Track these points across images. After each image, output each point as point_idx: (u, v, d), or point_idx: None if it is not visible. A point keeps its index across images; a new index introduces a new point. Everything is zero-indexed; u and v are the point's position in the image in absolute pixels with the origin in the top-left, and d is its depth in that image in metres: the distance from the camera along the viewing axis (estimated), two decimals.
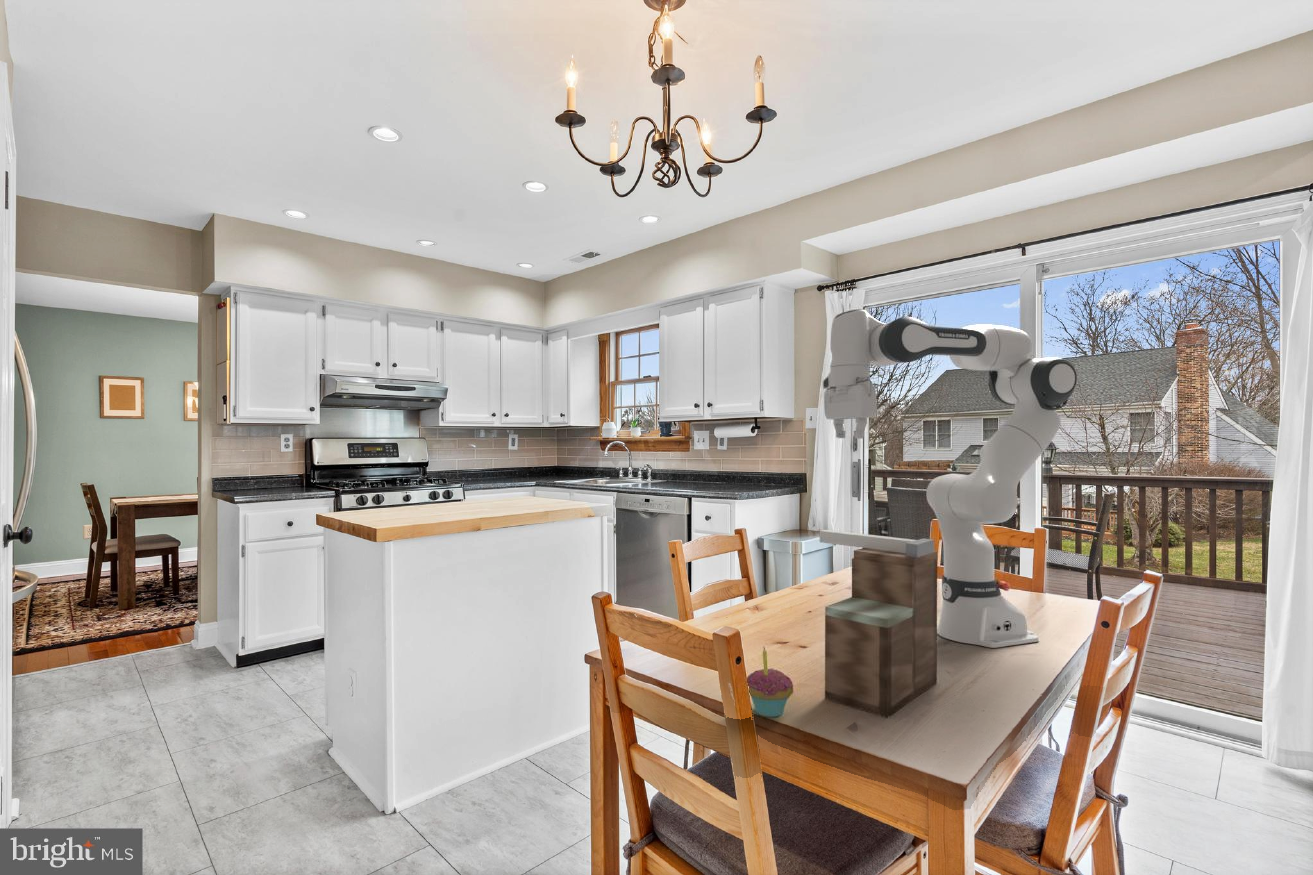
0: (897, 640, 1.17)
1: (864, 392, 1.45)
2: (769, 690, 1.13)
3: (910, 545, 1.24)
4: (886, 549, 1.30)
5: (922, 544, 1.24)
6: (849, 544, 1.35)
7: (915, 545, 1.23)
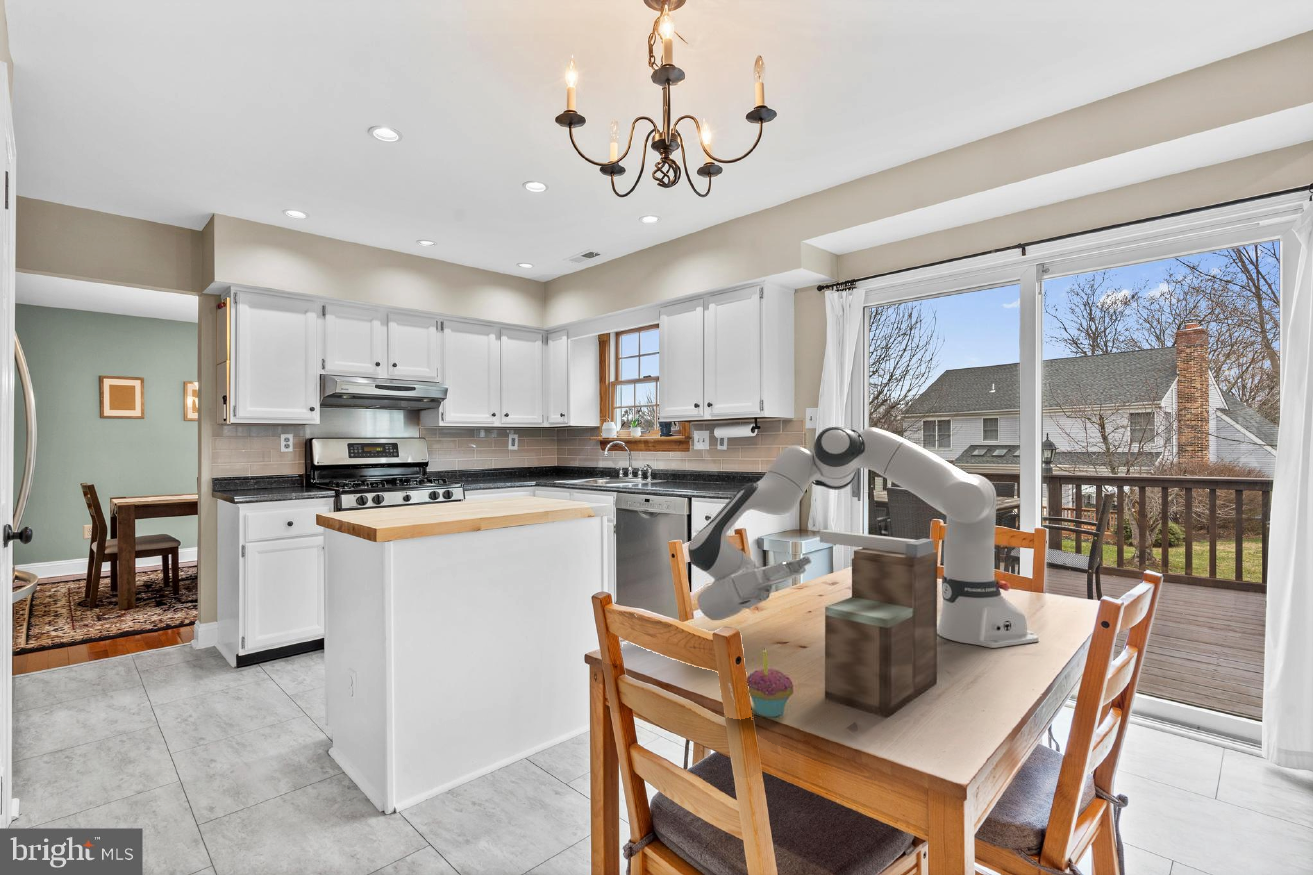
0: (897, 640, 1.17)
1: None
2: (769, 690, 1.13)
3: (910, 545, 1.24)
4: (886, 549, 1.30)
5: (922, 544, 1.24)
6: (849, 544, 1.35)
7: (915, 545, 1.23)
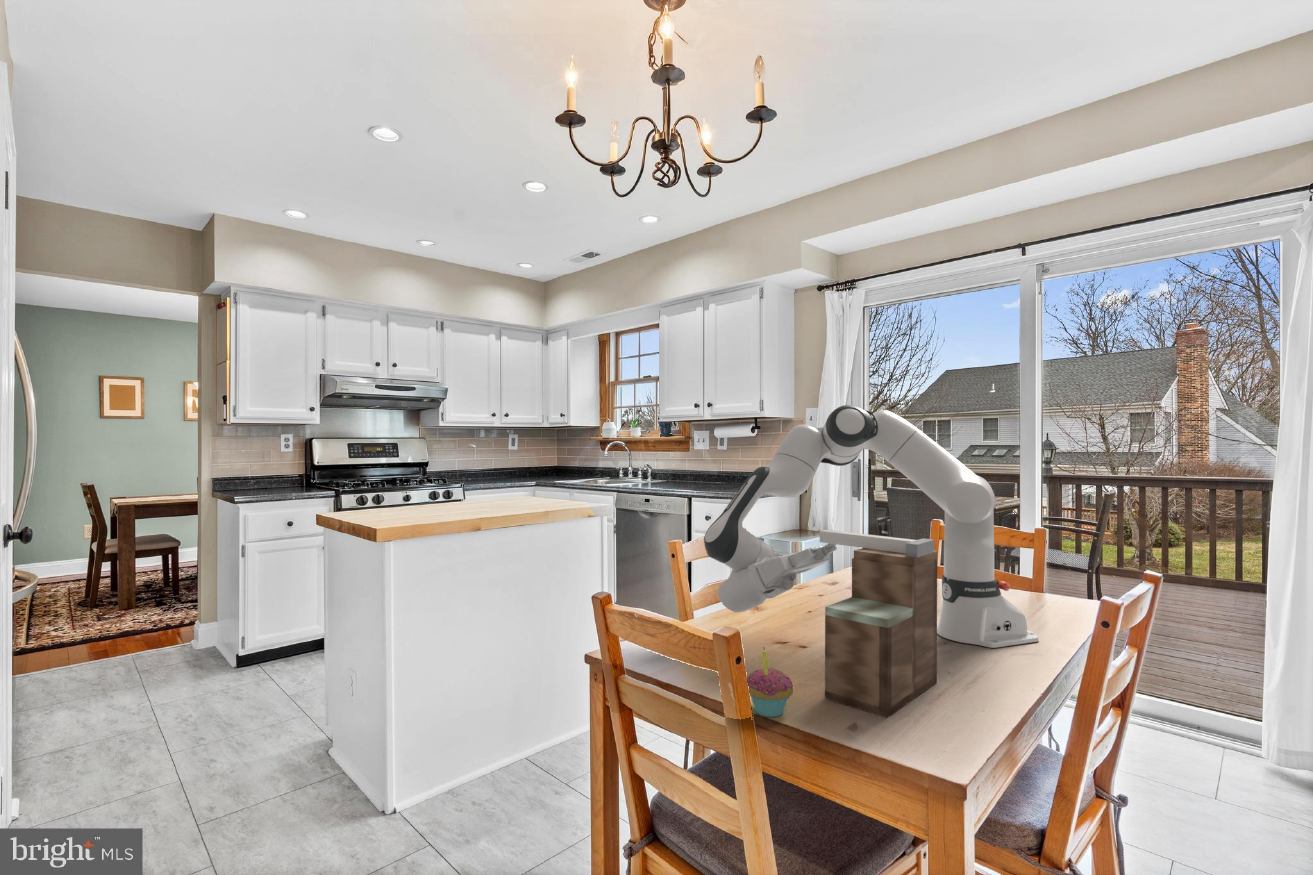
0: (897, 640, 1.17)
1: None
2: (769, 690, 1.13)
3: (910, 545, 1.24)
4: (886, 549, 1.30)
5: (922, 544, 1.24)
6: (849, 544, 1.35)
7: (915, 545, 1.23)
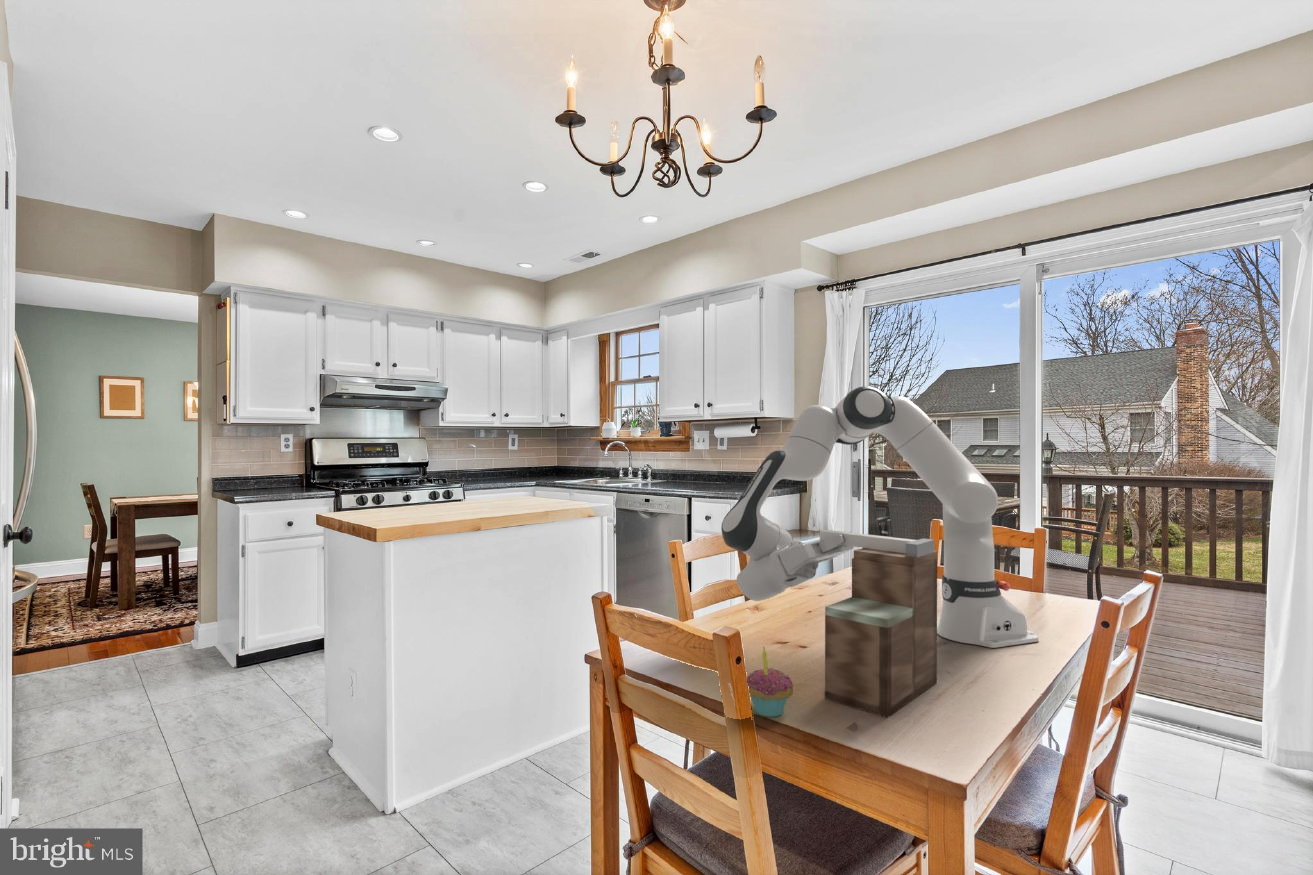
0: (897, 640, 1.17)
1: None
2: (769, 690, 1.13)
3: (910, 545, 1.24)
4: (886, 549, 1.30)
5: (922, 544, 1.24)
6: (849, 544, 1.35)
7: (915, 545, 1.23)
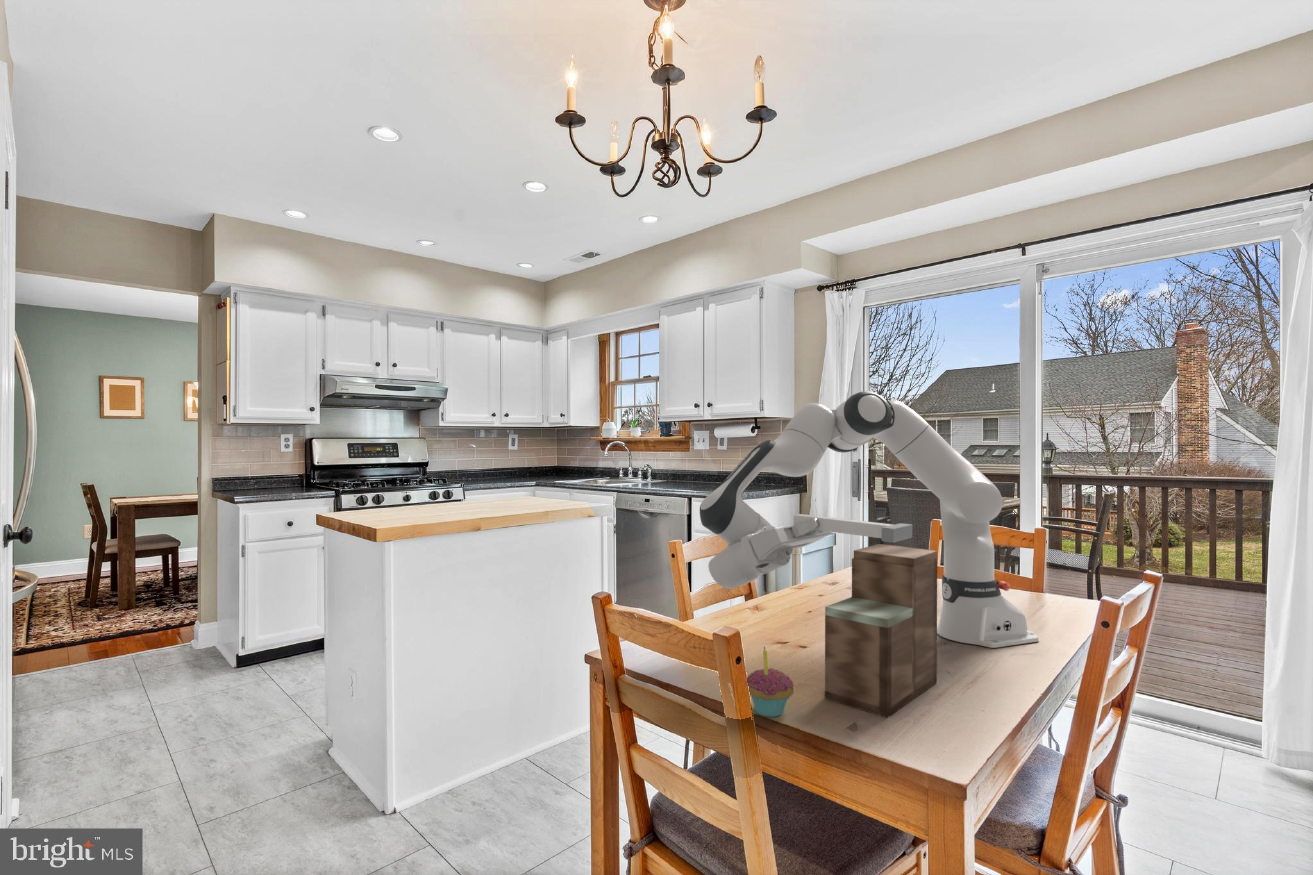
0: (897, 640, 1.17)
1: None
2: (769, 690, 1.13)
3: (886, 529, 1.17)
4: (862, 534, 1.23)
5: (899, 529, 1.17)
6: (824, 529, 1.28)
7: (891, 529, 1.16)
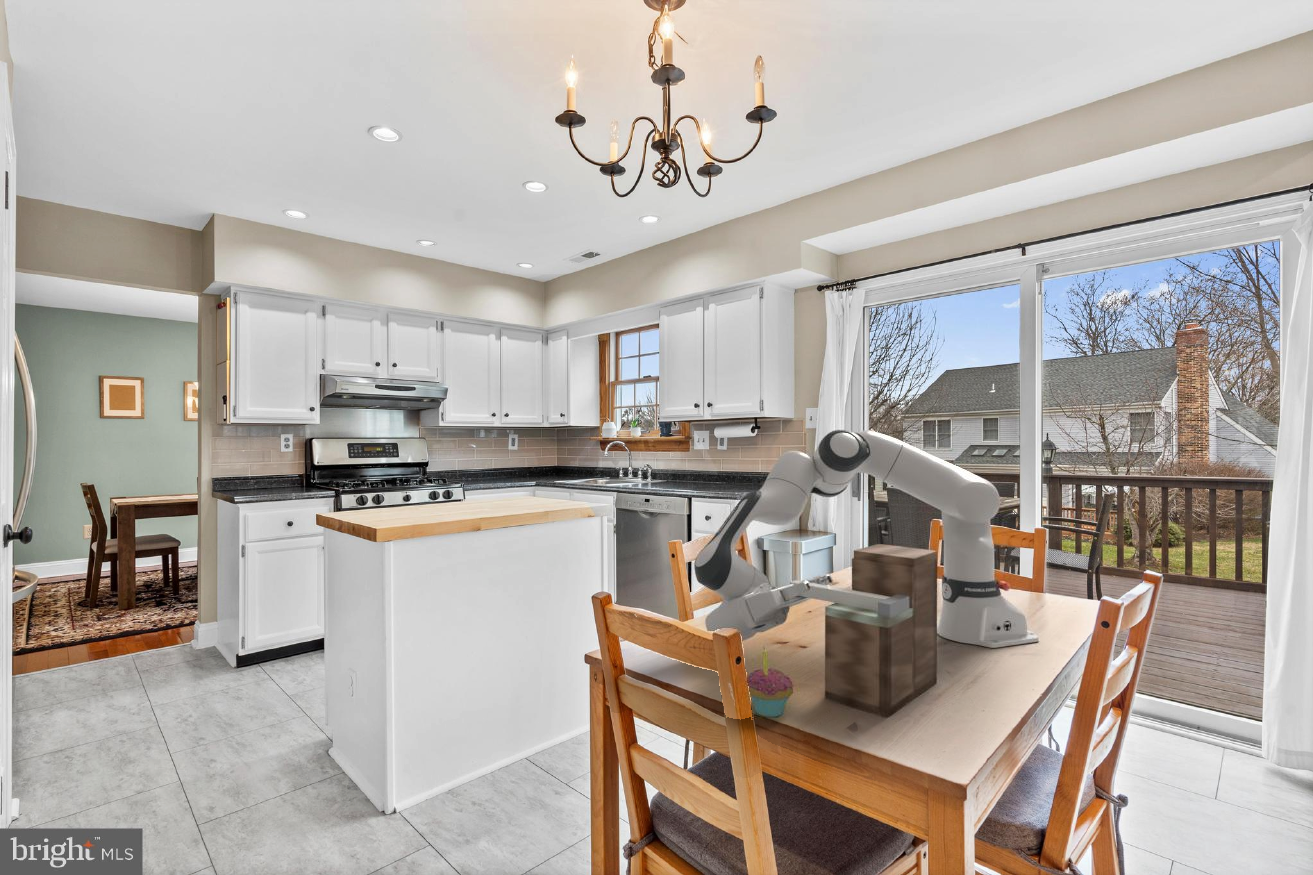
0: (897, 640, 1.17)
1: None
2: (769, 690, 1.13)
3: (882, 604, 1.15)
4: (858, 606, 1.22)
5: (895, 603, 1.16)
6: (820, 598, 1.27)
7: (887, 605, 1.15)
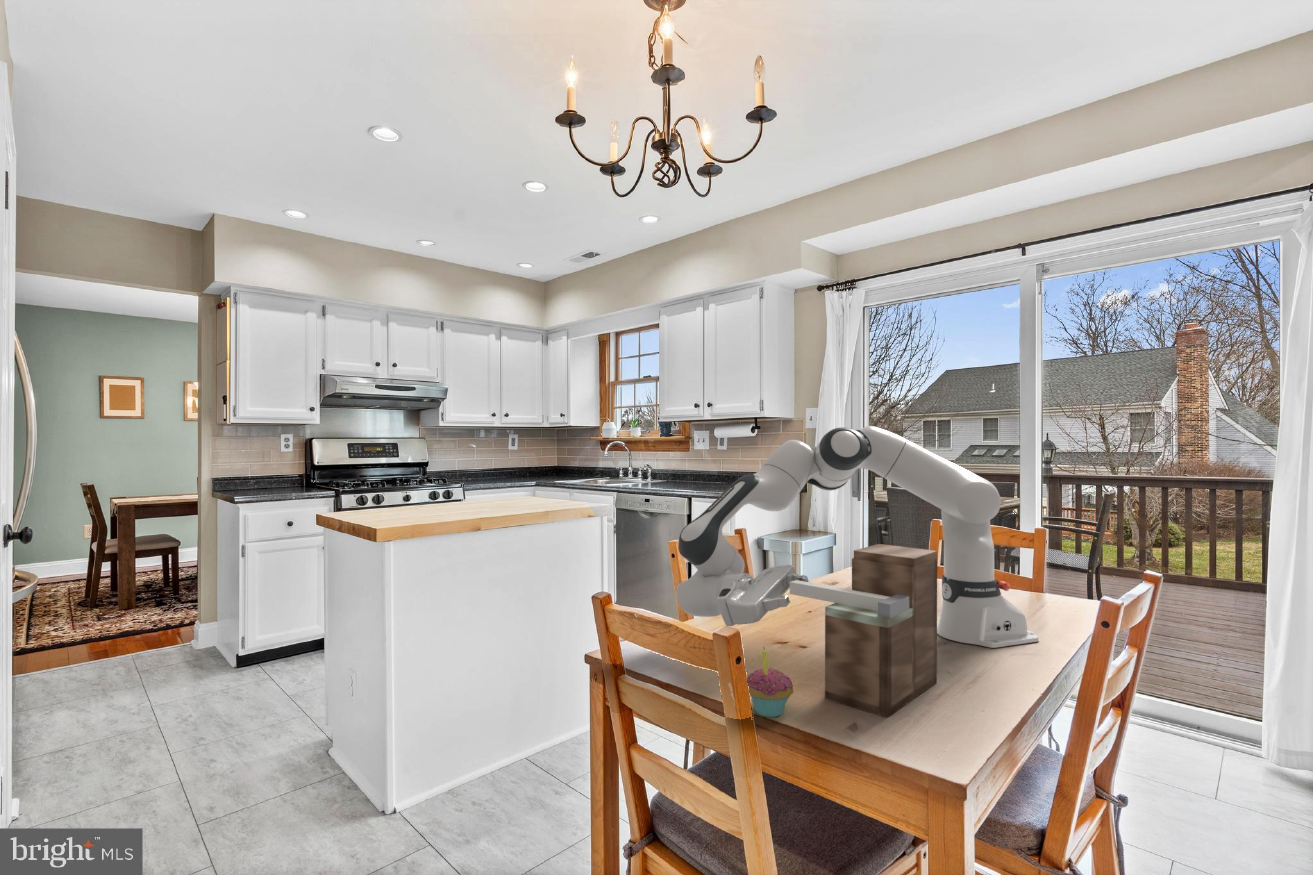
0: (897, 640, 1.17)
1: None
2: (769, 690, 1.13)
3: (882, 604, 1.15)
4: (858, 606, 1.22)
5: (895, 603, 1.16)
6: (820, 598, 1.27)
7: (887, 605, 1.15)
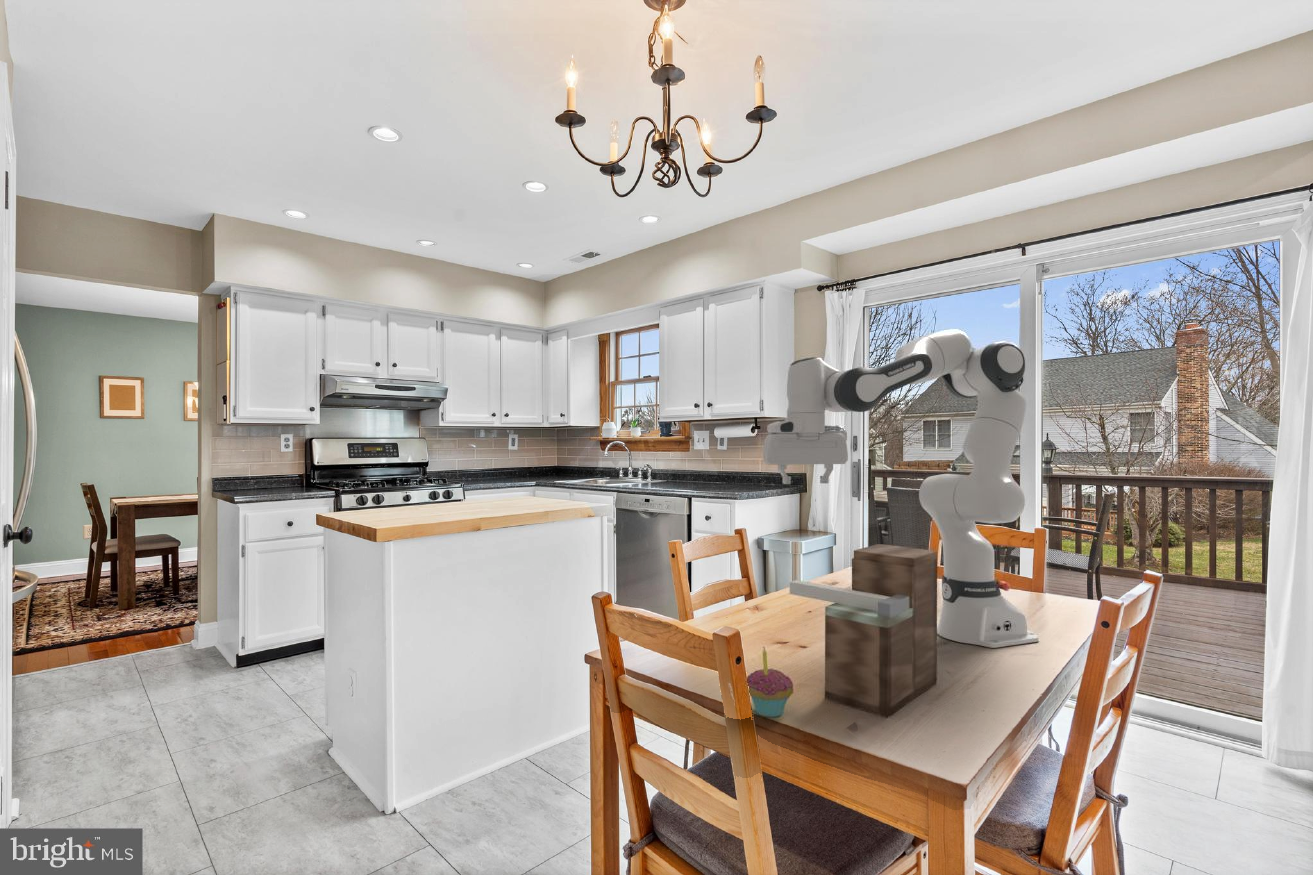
0: (897, 640, 1.17)
1: None
2: (769, 690, 1.13)
3: (882, 604, 1.15)
4: (858, 606, 1.22)
5: (895, 603, 1.16)
6: (820, 598, 1.27)
7: (887, 605, 1.15)
